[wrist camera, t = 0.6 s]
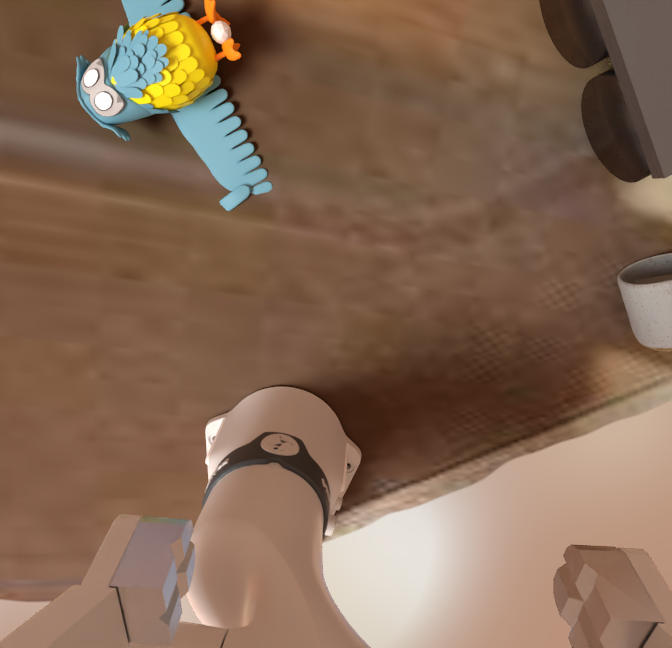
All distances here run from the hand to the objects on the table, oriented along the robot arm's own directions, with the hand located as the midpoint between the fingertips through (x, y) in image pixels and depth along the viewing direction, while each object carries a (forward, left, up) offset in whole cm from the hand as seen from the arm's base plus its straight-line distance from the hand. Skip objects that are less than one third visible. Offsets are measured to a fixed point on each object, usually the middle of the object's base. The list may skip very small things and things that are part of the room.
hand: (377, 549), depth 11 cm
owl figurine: (+14, +22, -45) cm, 52 cm away
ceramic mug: (+4, -32, -44) cm, 55 cm away
